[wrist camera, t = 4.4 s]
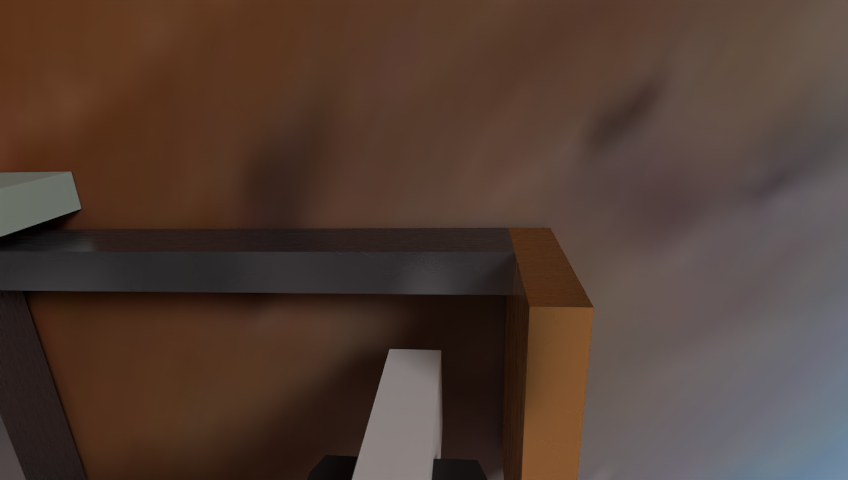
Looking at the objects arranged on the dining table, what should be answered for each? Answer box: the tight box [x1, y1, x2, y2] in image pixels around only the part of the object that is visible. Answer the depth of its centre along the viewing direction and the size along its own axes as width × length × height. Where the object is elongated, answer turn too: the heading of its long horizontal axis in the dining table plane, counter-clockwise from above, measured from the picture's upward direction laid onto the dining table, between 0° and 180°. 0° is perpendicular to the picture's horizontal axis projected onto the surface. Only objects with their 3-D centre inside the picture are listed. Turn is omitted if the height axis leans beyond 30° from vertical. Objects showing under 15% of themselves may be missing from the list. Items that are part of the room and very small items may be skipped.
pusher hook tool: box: [0, 228, 594, 480], centre depth 14 cm, size 28×10×5 cm, turn 92°
